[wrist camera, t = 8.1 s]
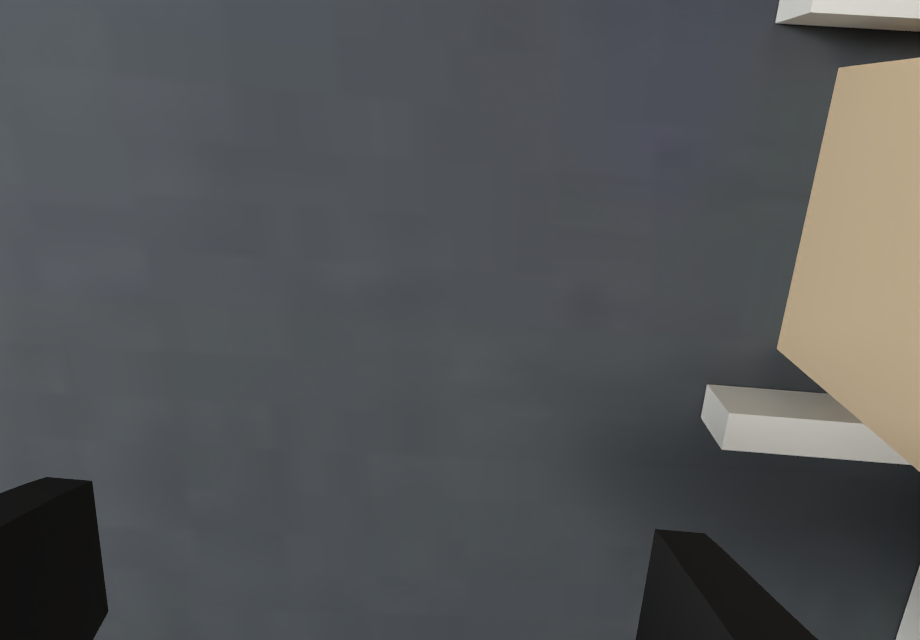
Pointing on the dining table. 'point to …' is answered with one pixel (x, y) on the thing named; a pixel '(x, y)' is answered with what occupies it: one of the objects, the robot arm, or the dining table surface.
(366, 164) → the dining table surface
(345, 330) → the dining table surface
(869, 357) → the box
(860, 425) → the white letter f
